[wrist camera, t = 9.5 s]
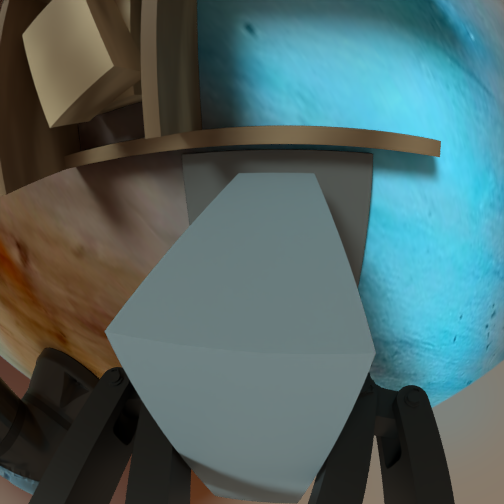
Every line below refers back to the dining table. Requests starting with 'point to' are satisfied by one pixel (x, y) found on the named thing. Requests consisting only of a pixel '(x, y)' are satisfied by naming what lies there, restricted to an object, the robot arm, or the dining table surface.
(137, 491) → the robot arm
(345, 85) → the dining table surface
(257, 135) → the rack
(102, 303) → the dining table surface
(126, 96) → the offcut lower
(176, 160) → the dining table surface
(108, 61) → the offcut upper
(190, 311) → the grey rectangular block
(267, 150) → the mat
